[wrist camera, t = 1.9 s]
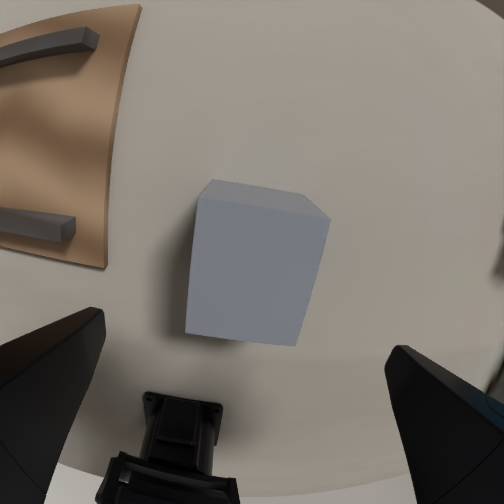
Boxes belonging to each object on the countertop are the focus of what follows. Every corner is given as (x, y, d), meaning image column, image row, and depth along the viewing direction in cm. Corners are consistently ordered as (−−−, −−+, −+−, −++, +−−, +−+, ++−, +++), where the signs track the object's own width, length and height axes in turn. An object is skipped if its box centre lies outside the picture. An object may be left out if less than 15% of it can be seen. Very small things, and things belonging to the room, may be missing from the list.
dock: (107, 264, 17) (91, 280, 15) (-21, 237, 16) (-39, 247, 14) (142, 7, 12) (128, -9, 9) (-4, 38, 11) (-23, 34, 8)
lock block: (281, 290, 18) (295, 346, 13) (200, 278, 18) (184, 332, 13) (303, 194, 16) (330, 219, 11) (213, 179, 16) (198, 197, 11)
